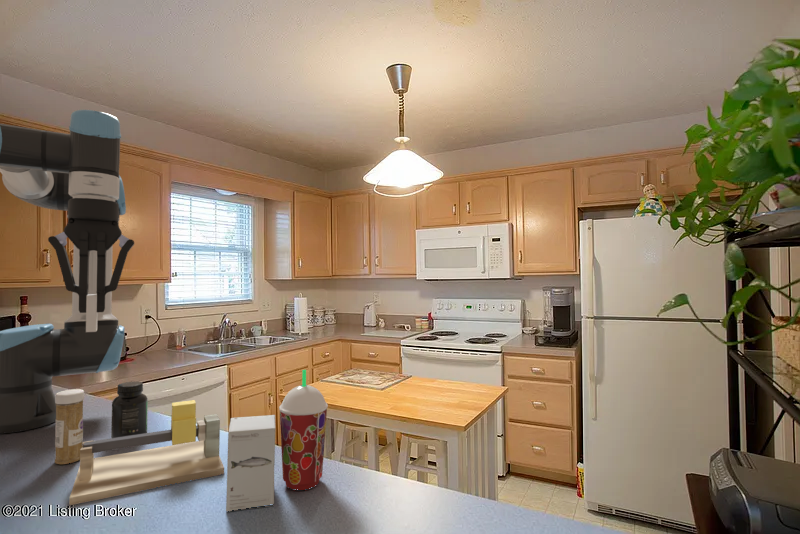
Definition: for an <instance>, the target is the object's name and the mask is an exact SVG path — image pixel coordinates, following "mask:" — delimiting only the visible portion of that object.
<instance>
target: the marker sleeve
mask: <svg viewBox="0 0 800 534" xmlns="http://www.w3.org/2000/svg"><path fill="white" fill-rule="evenodd" d="M196 408H197V403H196V400H195V399H193V400H185V401H177V402H171V417H170V418H171V421H170V423H171V424H170V430H171V429H172V441H171V446H172V445H178V444H184V443H190V442H196V441H197V439H196V438H197V437H196V426H197V417H196V416H197V411H196V410H197V409H196Z"/></svg>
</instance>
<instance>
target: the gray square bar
mask: <svg viewBox="0 0 800 534" xmlns="http://www.w3.org/2000/svg"><path fill="white" fill-rule="evenodd" d="M197 437H198V426H197V425H196V438H197ZM89 441H90V442H86V441H83V442H84V445H83V448H85V447H92V453H94V454H96V453H102V452H109V451H114V450H121V449H127V448H134V447H140V446H147V445H151V444H158V443H159V444H160V443H165V442H172V429H171V428H170V429H165V430H160V431H153V432H147V433H144V434H138V435H131V436H124V437H117V438H111V437H110V438H105V439H98V440H94V441H93V440H89Z"/></svg>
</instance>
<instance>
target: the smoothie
mask: <svg viewBox="0 0 800 534" xmlns="http://www.w3.org/2000/svg"><path fill="white" fill-rule="evenodd" d="M301 372H302V376H301V377H302V380H301V385H297V386H295V387H293V388H292V389H290V390H289V391H288V392H287V393H286V395H285V397H284V398H283V401H282V402H281V404H280V405H279V407H278V409H279V420H280V421H279V423H280V424H279V425H280V443H281V444H280V445H281V447H280V449H281V467H282V480H283V481H284V482H285V485H286V488H288V487H289V488H291V489H296V490H297V489H298V490H305V489H309V488H311V487H314V486H315V485H317V484H318V483H319V484H320V480H321V478H322V477H323V470H324V469H323V468H324V455H325V440H326V425H327V416H328V415H327V414H328V413H327V412H328V407H329V405H328V403H327V402H326V400H325V397H324V395H323V394H322V392H321V391H320V390H319V389H318V388H316V387H314V386H312V385H309V384H307V369H302V371H301ZM319 484H318V485H319ZM318 485H317V486H318ZM289 488H288V489H289ZM314 488H315V487H314ZM291 489H290V490H291ZM309 490H310V489H309ZM305 491H306V490H305Z"/></svg>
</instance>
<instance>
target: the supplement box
mask: <svg viewBox="0 0 800 534" xmlns="http://www.w3.org/2000/svg"><path fill="white" fill-rule="evenodd" d="M275 455H276V415H275V414H271V415H270V414H268V415H256V416H254V415H252V416H238V417H231V418H230V422H229V426H228V434H227V462H226V463H227V466H226V467H227V468H226V473H227V474H226V496H225V497H226V503H225V511H227V512H226V513H229V512H232V510H234V511H239V510H238V509H241V510H247V509H246V508H249V509H252V508H251V507H257V506H264V505H270V504H274V505H275V458H276V456H275ZM257 508H258V507H257ZM228 511H229V512H228Z"/></svg>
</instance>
